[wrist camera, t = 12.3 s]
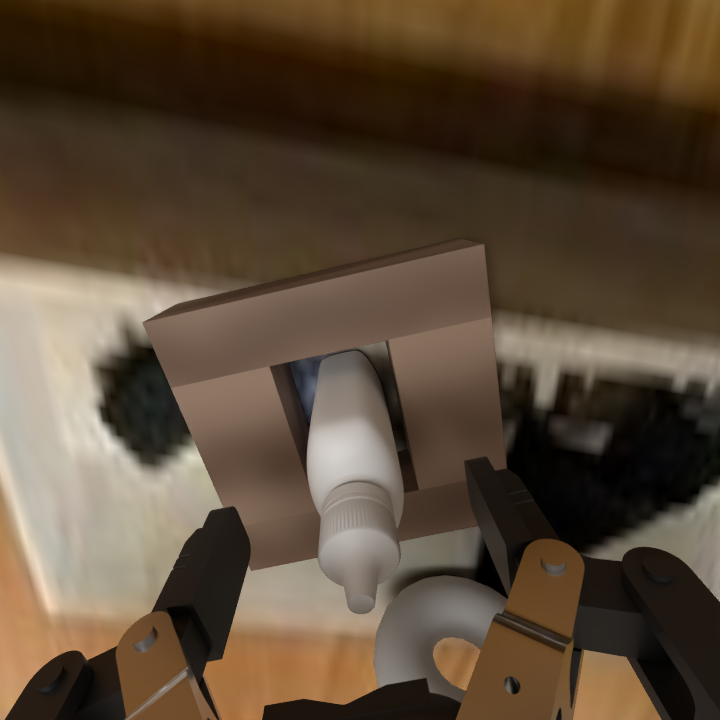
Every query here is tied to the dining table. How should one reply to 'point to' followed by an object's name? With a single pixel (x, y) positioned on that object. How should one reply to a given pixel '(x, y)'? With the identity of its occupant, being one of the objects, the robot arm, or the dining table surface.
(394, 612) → the donut
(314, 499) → the eye dropper bottle
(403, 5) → the dining table surface
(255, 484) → the walnut socket block
